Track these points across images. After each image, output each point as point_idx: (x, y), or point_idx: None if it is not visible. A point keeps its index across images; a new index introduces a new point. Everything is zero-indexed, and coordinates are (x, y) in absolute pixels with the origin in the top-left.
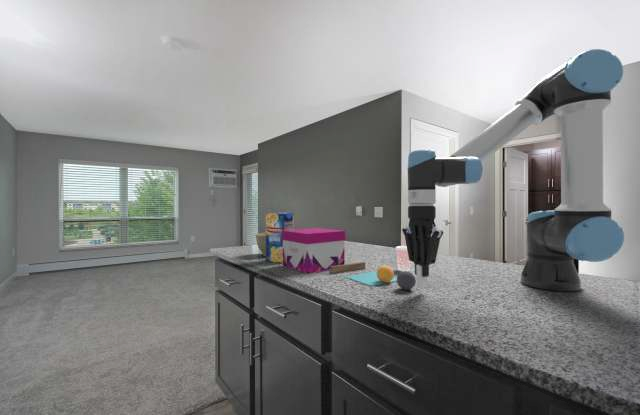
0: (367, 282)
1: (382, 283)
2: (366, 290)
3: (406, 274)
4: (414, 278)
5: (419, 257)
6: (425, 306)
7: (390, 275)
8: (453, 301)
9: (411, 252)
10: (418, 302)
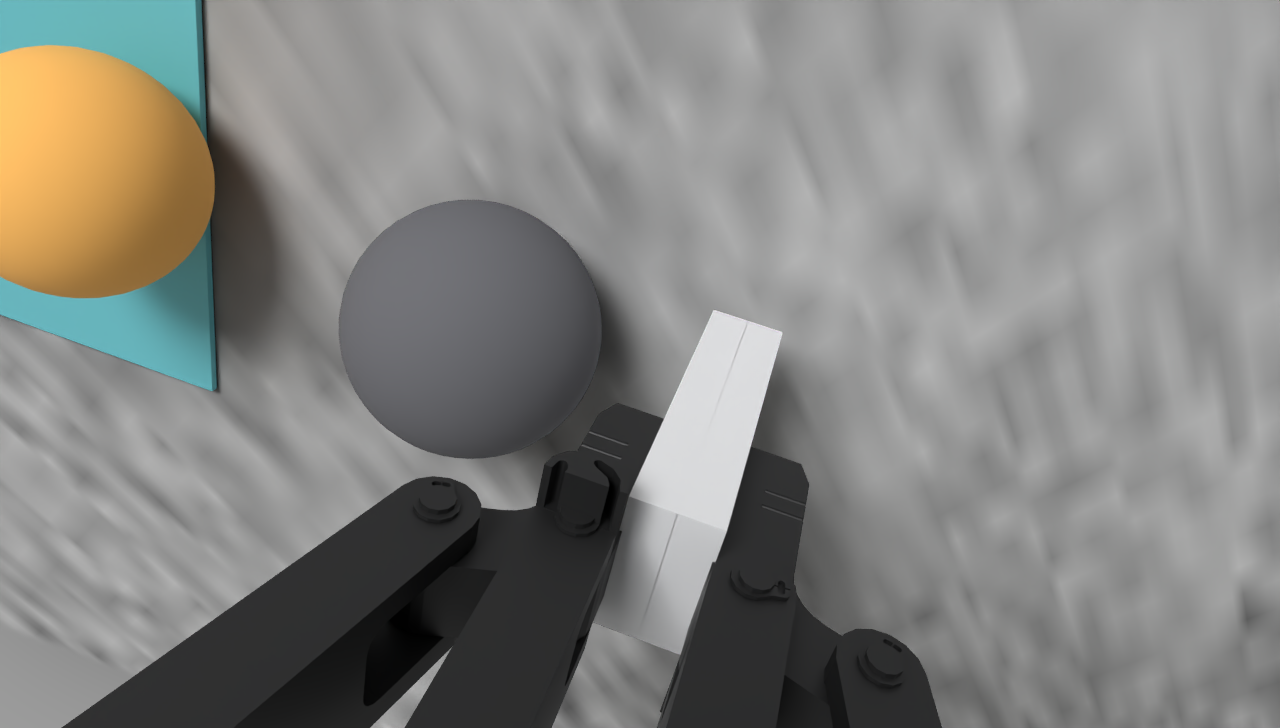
0: (99, 307)
1: (205, 239)
2: (300, 522)
3: (476, 443)
4: (571, 351)
5: (567, 666)
6: (941, 668)
7: (185, 222)
8: (1176, 401)
9: (368, 721)
10: (841, 604)
